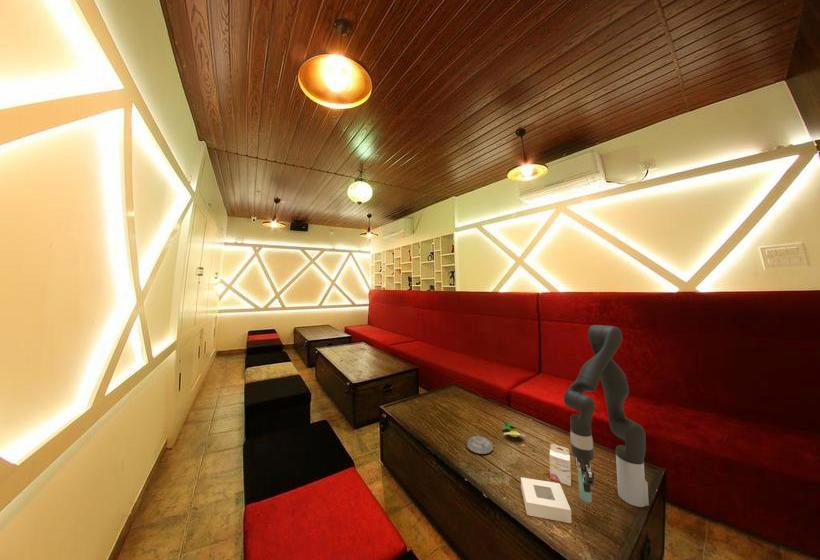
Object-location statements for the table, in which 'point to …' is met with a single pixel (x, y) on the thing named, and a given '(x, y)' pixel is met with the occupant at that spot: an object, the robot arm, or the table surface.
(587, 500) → the peg
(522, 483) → the socket board
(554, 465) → the ink cartridge box
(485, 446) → the flying saucer
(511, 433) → the decorative flower
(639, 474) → the robot arm
